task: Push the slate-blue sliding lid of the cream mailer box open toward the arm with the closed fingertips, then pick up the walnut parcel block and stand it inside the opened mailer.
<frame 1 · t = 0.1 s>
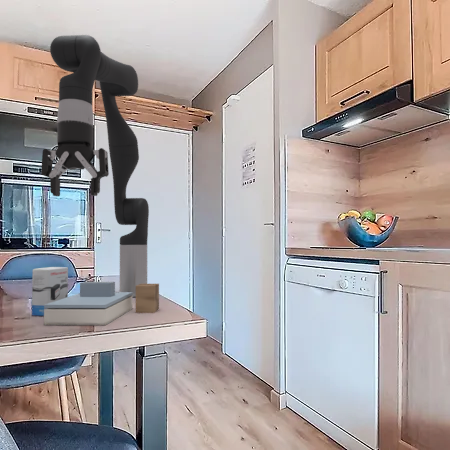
hand: (75, 195, 84), 29 cm above the table, fingers open, 8 cm apart
lid: (92, 292, 93), point 6 cm above the table, slide at 0.0 cm
parcel: (147, 311, 99), on the table
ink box: (50, 313, 98), on the table
mailer: (92, 315, 93), on the table
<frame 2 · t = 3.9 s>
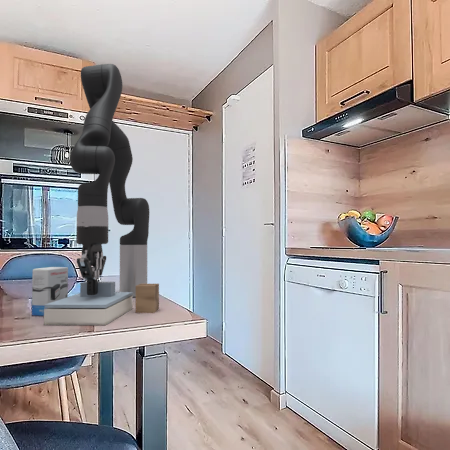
hand: (92, 294, 93), 5 cm above the table, fingers closed
lid: (93, 292, 94), point 6 cm above the table, slide at 0.2 cm, touching gripper
everything else where it was.
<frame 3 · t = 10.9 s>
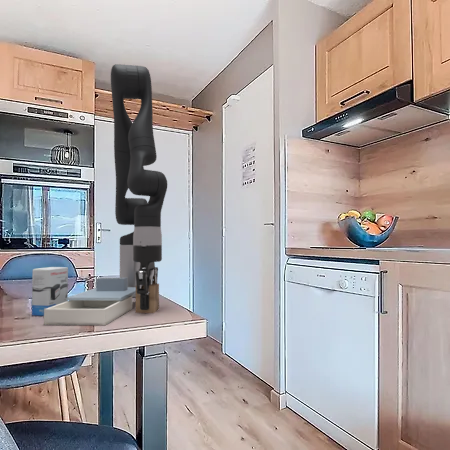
hand: (147, 307, 99), 1 cm above the table, fingers closed on parcel, 5 cm apart
lid: (108, 286, 104), point 6 cm above the table, slide at 10.5 cm
parcel: (147, 311, 99), on the table, touching gripper
everything else where it was.
when the fingers open (3 cm above the table, at t = 17.7 s): parcel drops 2 cm, resting on mailer.
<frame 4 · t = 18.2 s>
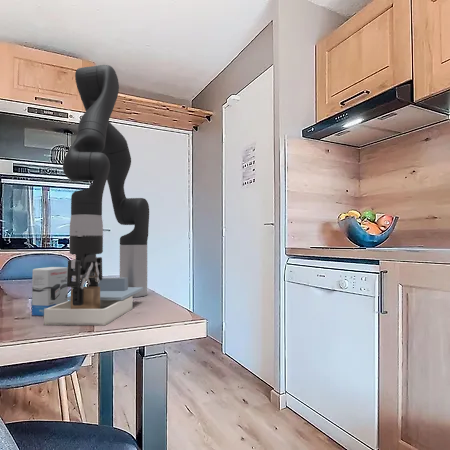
hand: (85, 302, 89), 4 cm above the table, fingers open, 8 cm apart
lid: (108, 286, 104), point 6 cm above the table, slide at 10.8 cm, touching gripper
parcel: (85, 317, 89), resting on mailer
everything else where it was.
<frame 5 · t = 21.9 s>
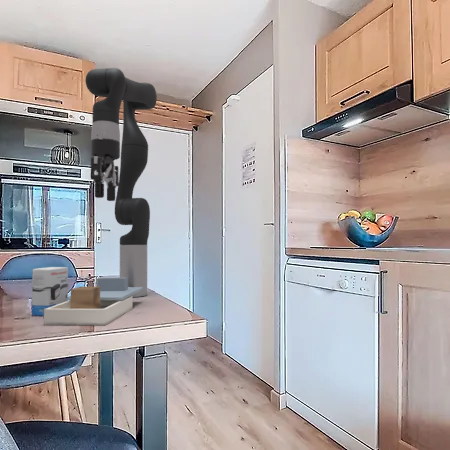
hand: (105, 199, 102), 30 cm above the table, fingers open, 8 cm apart
lid: (108, 286, 104), point 6 cm above the table, slide at 10.8 cm
everything else where it was.
at the end: lid slide at 10.8 cm; parcel inside the target area on the mailer (0.4 cm from its centre), point 0.5 cm above the mailer's base; parcel tilted 0° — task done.
